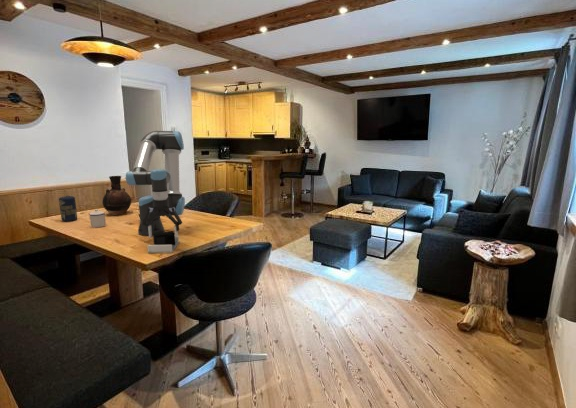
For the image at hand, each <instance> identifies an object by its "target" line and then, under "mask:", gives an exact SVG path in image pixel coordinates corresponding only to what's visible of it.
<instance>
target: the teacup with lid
mask: <svg viewBox="0 0 576 408" xmlns="http://www.w3.org/2000/svg"><path fill="white" fill-rule="evenodd" d="M88 216H89V220H90V227H91V228H93V229H94V228H95V229H96V228H103V227H105V226H107V223H106V212H105V211H101V210H99V209H98V208H96V209H94V210H93V211H91V212H89V214H88Z"/></svg>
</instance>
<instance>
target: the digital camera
mask: <svg viewBox="0 0 576 408" xmlns="http://www.w3.org/2000/svg"><path fill="white" fill-rule="evenodd" d="M152 239H153V240H152V241H153V245H175V231H172V230H171V231H170V230H169V231H164V232H163V233H156V234H153V235H152Z"/></svg>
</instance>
